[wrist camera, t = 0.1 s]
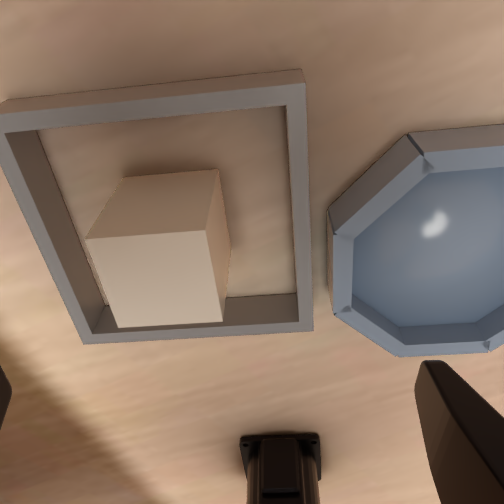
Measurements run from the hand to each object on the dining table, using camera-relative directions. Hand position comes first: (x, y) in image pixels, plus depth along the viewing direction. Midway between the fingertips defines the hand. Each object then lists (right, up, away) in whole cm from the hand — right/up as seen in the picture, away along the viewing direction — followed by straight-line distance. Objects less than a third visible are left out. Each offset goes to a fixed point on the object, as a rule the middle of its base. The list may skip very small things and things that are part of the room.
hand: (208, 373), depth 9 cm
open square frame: (-3, +5, +14) cm, 15 cm away
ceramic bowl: (+12, +3, +15) cm, 19 cm away
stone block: (-3, +5, +15) cm, 16 cm away
